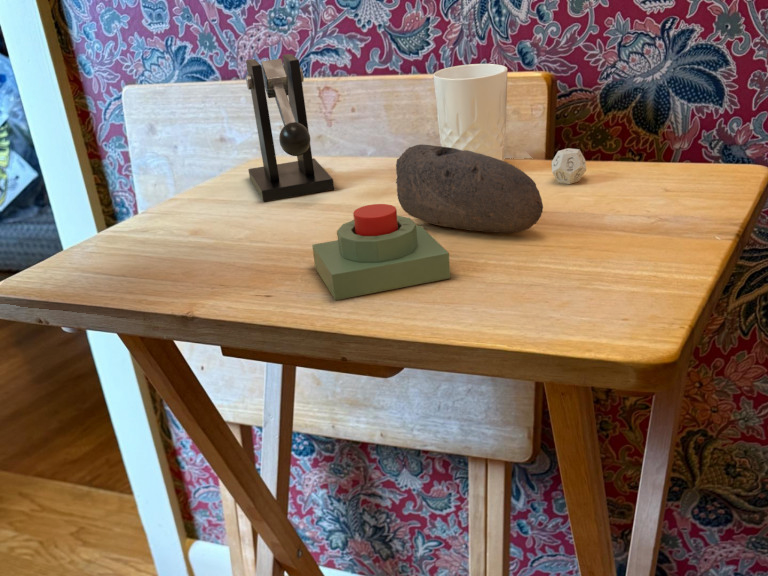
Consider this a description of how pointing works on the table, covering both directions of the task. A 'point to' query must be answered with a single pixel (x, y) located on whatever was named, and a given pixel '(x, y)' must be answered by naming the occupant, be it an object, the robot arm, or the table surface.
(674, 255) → the table surface
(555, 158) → the game die
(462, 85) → the white cup
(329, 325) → the table surface
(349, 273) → the button block
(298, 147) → the lever
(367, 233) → the button
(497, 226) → the perforated stone tool
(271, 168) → the bracket
